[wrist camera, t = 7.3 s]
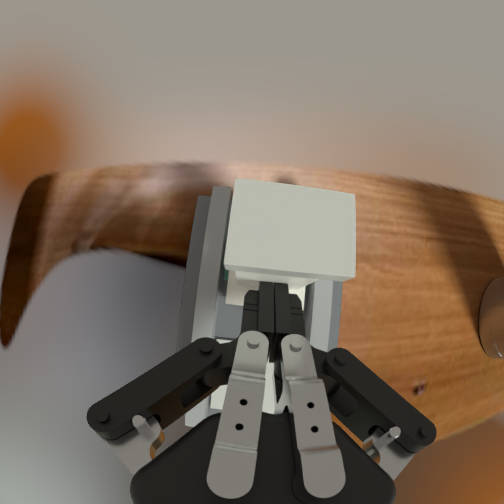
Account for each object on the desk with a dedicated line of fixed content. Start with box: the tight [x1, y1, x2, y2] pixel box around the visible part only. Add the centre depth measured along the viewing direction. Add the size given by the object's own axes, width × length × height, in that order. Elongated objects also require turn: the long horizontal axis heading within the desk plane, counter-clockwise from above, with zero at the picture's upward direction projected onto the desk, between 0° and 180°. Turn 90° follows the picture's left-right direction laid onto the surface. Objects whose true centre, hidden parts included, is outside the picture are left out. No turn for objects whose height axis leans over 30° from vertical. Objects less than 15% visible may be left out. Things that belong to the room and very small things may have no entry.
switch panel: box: [176, 186, 342, 427], centre depth 18 cm, size 16×11×4 cm
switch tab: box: [224, 178, 356, 310], centre depth 13 cm, size 4×5×10 cm
